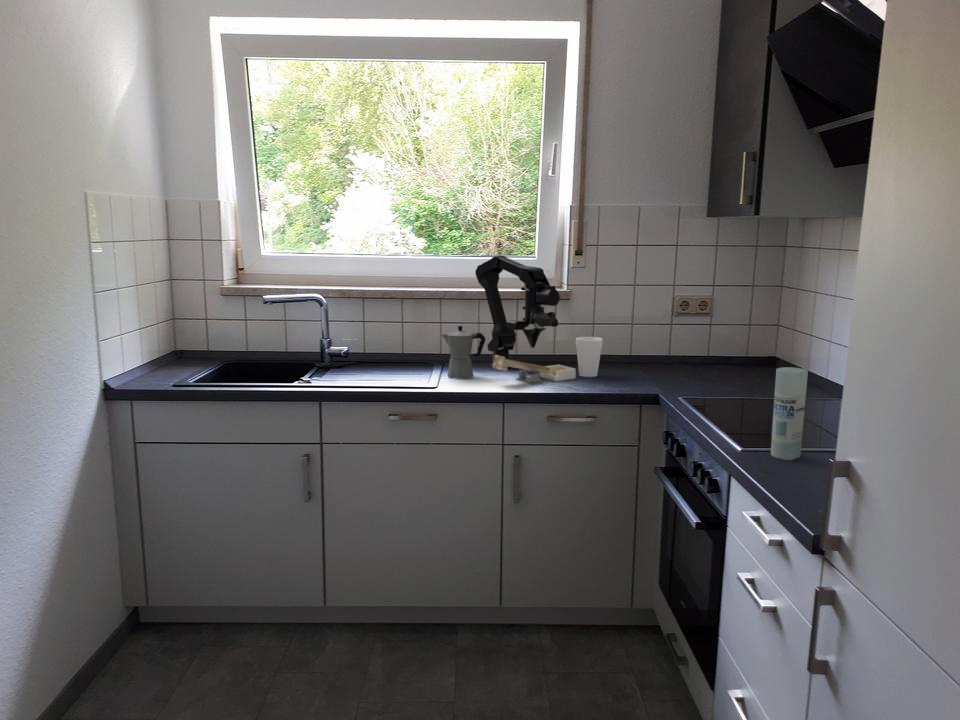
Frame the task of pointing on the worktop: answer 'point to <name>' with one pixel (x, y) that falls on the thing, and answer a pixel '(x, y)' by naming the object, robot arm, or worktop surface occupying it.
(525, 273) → the robot arm
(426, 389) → the worktop surface
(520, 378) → the fulcrum
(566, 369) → the dish
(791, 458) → the spray paint can
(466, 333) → the coffeepot
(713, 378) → the worktop surface
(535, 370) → the lever
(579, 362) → the foam cup
